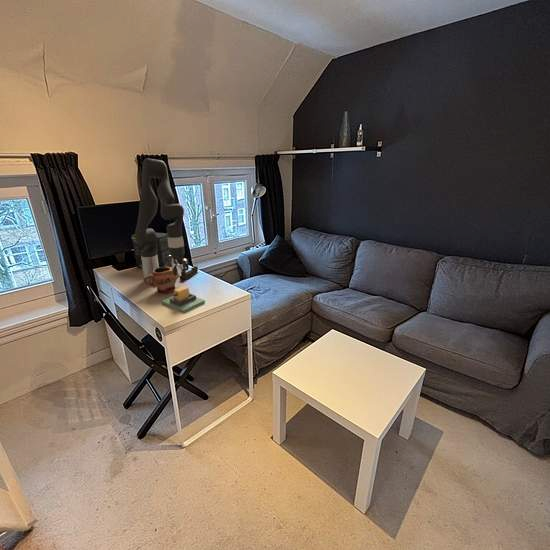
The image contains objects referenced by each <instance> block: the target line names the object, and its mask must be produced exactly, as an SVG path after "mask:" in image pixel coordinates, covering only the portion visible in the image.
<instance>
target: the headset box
mask: <svg viewBox="0 0 550 550" xmlns="http://www.w3.org/2000/svg"><path fill="white" fill-rule="evenodd" d="M155 233H156V237H157V248H158V250H157V256H158V263H159V268H161V267H169V263H168V258H167V256H169V248H168V236H167V232H166V233H164V232H155ZM130 236H131V240H132V246H133V251H134V257H135V262H136V268H137V269H142V270H143V268H142V267H143V264H142V258H141V251H142V250H143V249H144V248H145V247H146V245H144V246H140V245H138V244H137V243H136V241H135V233H134V234H132V235H130ZM171 264H172V262H171Z"/></svg>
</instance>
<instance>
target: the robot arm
mask: <svg viewBox="0 0 550 550" xmlns="http://www.w3.org/2000/svg"><path fill="white" fill-rule="evenodd" d="M141 172H142V173H141V189H140V190H141V191H140V197H139V198H140V199H139V205H138V208H139V209H138V210H139V211H138V216H137V223H136V228H135V232H134V234H135V241H136V243H137V244H138V245H140V246H144V245H146V247H145V248H144V249H143V250H142V251H141V258H142V264H143V267H142V268H143V269H142V268H141V269H142V274H143V278H144V277H145V276H147V275H151V274H152V273H153V270H154V269H156V268H159V263H158V256H157V250H158V248H157V237H156V233H157V232H156V231H155V230H154V229H153V228H151V227H150V228H149V227H148V226H149V224H151V222H152V221H153V220H154V217H155V216H156V215H157V212H158V206H159V202H160V216H161V218H162V219H163V220H167V221H169V220H171V221H172V220H175V221H174V222H172V223H170V224H167V225H166V233H167V236H168V248H169V256H167V258H168V263H169V267H172V269H173V275H174V276H176V275H178V273H179V272H178V268H179V269H180V276H181V277H182V278H186V273H187V272H188V271H189V262H190V261H189V259H187V258H185V257H184V255H185V242H184V237H183V230H182V229H183V220H184V216H185V215H184V214H185V210H184V207H183V205H182V204H179V203H176V198H175V194H174V193H173V190H172V187H171V184H170V177H169V172H168V168H167V165H166V163H165V161H163V160H161V159H154V158H144V160H143V162H142V171H141ZM151 179H161V181H160V183H159V184H158V187H157V190H156V191H157V196H158V197H157V196H156V194H155V192H154V190H153V188H152V185H151ZM158 199H159V200H158ZM171 262H172V264H171ZM146 283H147V284H149V285H150V284H152V283H153V281H152V279H151V278H149V279H147V280H146Z"/></svg>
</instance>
